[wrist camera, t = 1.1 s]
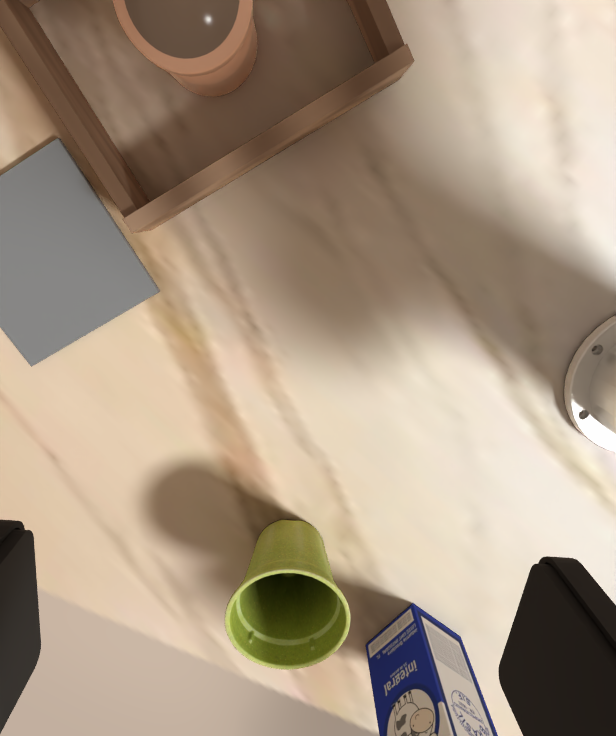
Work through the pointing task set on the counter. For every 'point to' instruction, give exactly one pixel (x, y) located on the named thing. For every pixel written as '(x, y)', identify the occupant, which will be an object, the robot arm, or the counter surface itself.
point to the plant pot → (288, 601)
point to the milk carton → (425, 680)
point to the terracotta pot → (194, 40)
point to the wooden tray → (392, 59)
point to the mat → (60, 256)
